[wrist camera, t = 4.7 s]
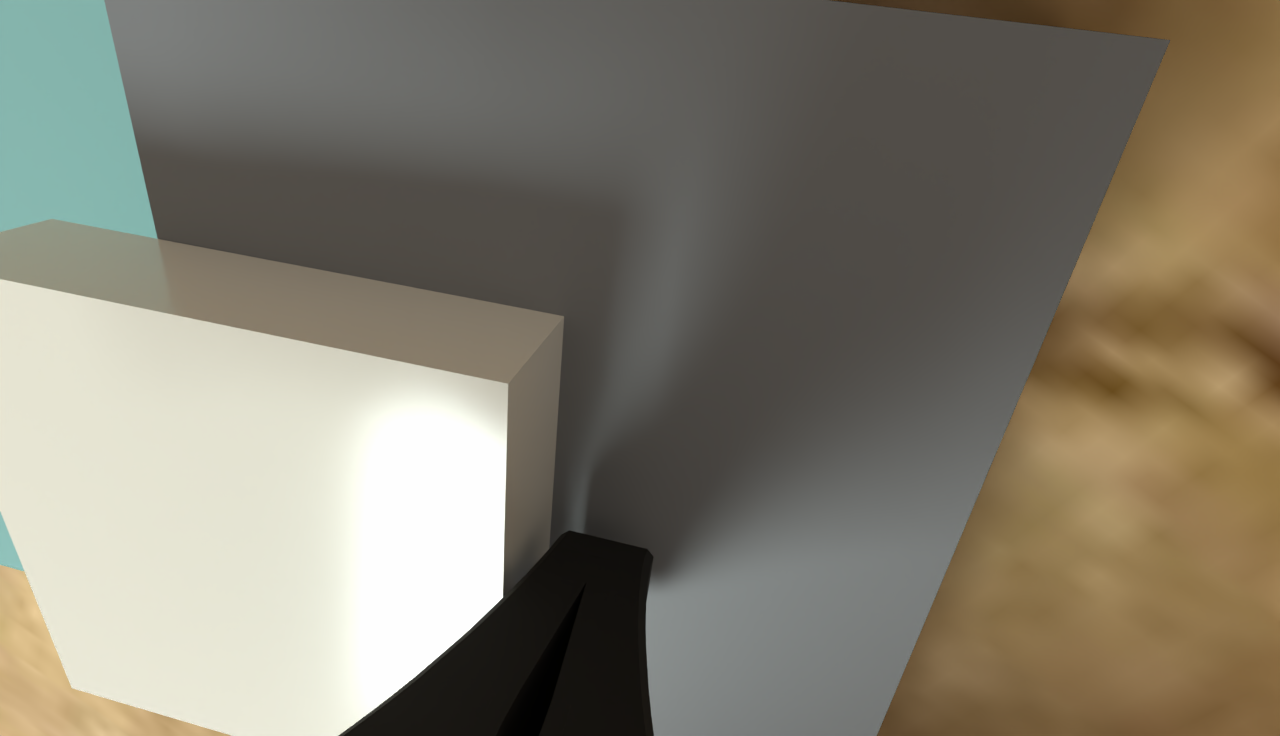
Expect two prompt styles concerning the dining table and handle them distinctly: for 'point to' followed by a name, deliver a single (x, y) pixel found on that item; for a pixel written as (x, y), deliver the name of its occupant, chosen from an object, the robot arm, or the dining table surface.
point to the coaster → (262, 472)
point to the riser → (687, 269)
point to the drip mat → (65, 130)
